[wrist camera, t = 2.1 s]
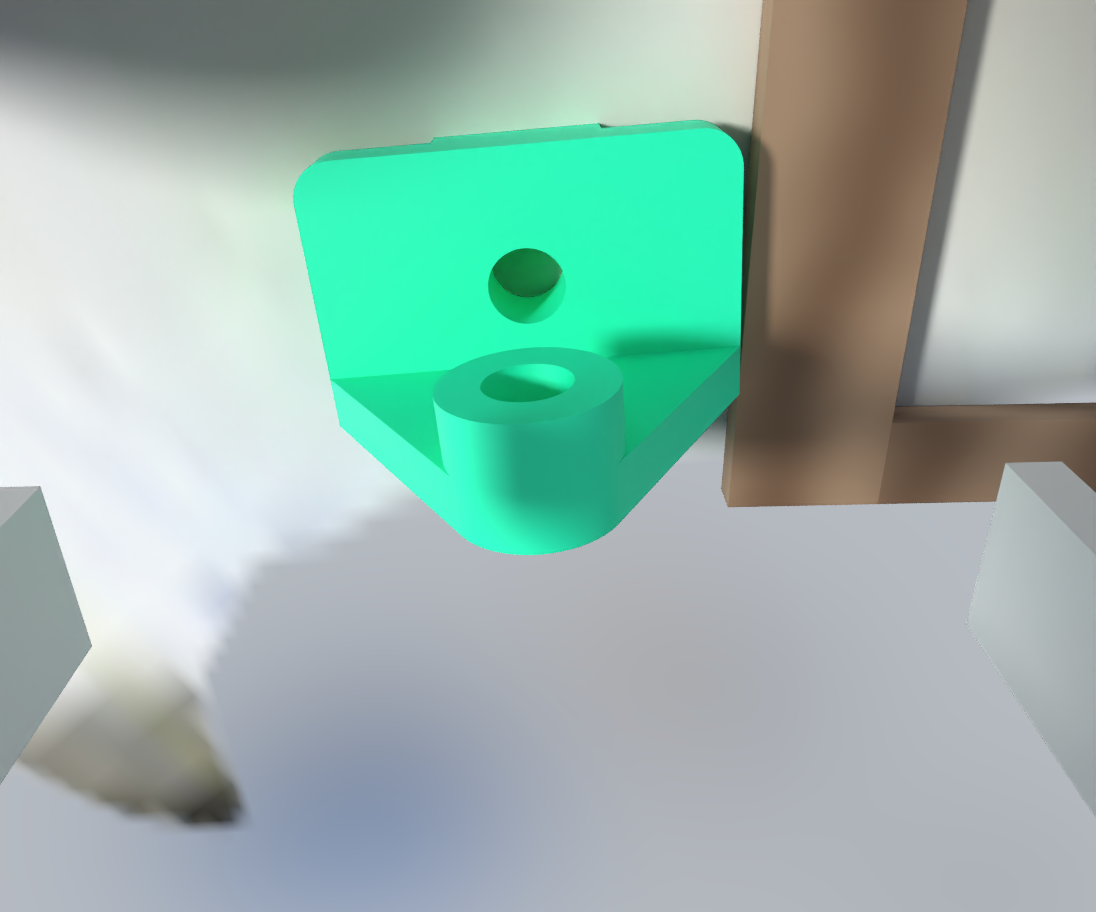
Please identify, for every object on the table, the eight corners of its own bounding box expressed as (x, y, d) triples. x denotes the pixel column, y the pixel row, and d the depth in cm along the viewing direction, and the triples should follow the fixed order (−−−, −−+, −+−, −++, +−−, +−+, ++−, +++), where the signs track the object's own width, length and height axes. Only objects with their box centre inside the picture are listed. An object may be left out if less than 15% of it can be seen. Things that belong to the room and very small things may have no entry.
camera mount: (725, 110, 26) (830, 184, 17) (723, 361, 29) (808, 534, 20) (307, 147, 26) (186, 240, 17) (355, 390, 30) (276, 574, 21)
